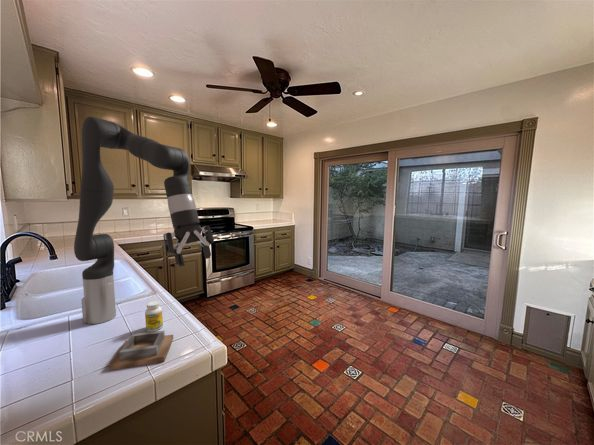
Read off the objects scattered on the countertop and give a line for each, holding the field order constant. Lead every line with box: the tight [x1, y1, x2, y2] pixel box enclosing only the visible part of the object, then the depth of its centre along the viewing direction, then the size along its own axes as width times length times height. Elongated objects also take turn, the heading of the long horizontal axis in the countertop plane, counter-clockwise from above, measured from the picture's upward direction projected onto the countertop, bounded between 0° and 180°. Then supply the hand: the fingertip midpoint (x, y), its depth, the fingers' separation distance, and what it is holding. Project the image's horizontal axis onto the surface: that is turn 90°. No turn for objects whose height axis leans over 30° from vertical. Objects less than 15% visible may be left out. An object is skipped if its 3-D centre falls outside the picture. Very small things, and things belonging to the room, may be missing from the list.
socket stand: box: [107, 330, 174, 371], centre depth 75 cm, size 14×12×4 cm
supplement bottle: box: [144, 300, 164, 332], centre depth 89 cm, size 5×5×10 cm
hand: (195, 262), depth 75 cm, fingers open, 8 cm apart
